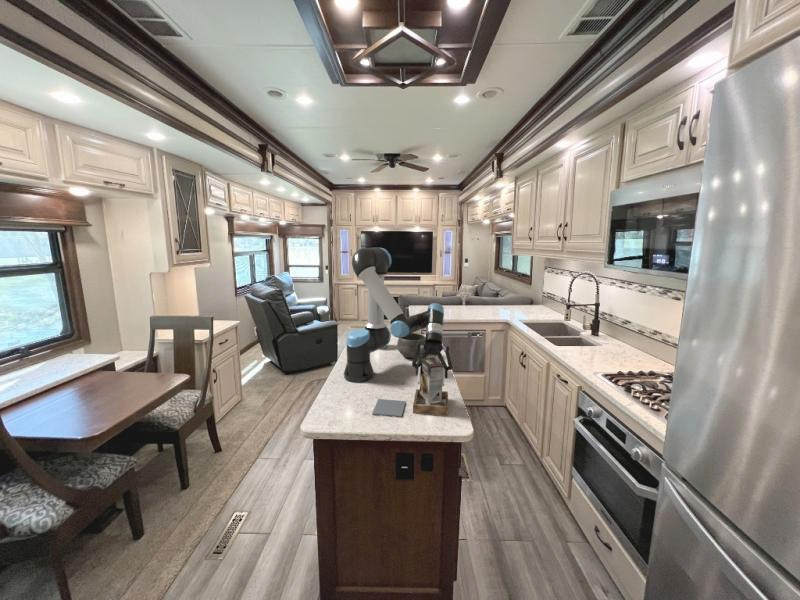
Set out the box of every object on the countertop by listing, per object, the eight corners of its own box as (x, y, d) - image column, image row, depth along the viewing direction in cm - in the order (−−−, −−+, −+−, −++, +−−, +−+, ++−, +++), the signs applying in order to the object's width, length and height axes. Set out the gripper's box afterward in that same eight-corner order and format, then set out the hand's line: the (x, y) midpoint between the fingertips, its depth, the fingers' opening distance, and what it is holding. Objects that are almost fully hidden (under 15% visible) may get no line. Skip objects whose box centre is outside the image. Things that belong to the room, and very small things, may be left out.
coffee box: (418, 393, 140) (420, 358, 136) (432, 391, 142) (434, 356, 139) (428, 403, 131) (429, 366, 128) (442, 401, 134) (444, 364, 130)
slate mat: (372, 414, 130) (372, 413, 129) (378, 400, 141) (378, 398, 141) (401, 417, 128) (401, 415, 128) (405, 402, 140) (405, 401, 139)
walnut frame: (412, 412, 131) (413, 404, 131) (416, 396, 145) (416, 389, 144) (447, 415, 129) (447, 407, 129) (447, 398, 143) (447, 391, 142)
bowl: (425, 363, 183) (426, 341, 181) (394, 361, 186) (394, 340, 184) (428, 352, 201) (428, 332, 198) (399, 350, 203) (399, 331, 201)
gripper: (409, 329, 143) (403, 378, 130) (459, 333, 140) (458, 383, 128) (409, 337, 149) (404, 384, 137) (458, 340, 146) (457, 389, 134)
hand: (430, 384), depth 132 cm, fingers closed on coffee box, 9 cm apart
